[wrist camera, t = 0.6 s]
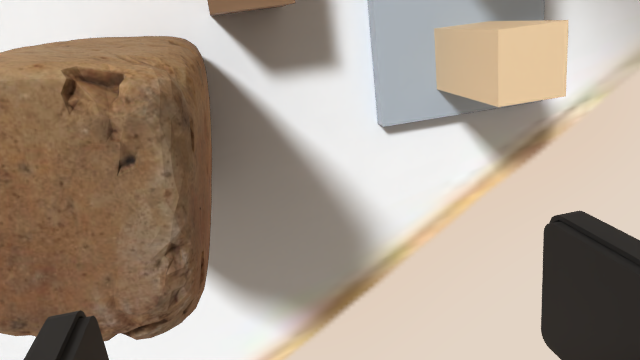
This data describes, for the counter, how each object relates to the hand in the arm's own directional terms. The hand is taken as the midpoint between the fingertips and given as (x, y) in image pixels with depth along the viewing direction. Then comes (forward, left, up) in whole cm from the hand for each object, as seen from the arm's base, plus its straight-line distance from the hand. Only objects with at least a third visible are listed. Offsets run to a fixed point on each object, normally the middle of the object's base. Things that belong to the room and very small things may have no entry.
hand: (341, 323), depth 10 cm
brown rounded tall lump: (-1, -6, -25) cm, 26 cm away
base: (-7, +15, -25) cm, 30 cm away
